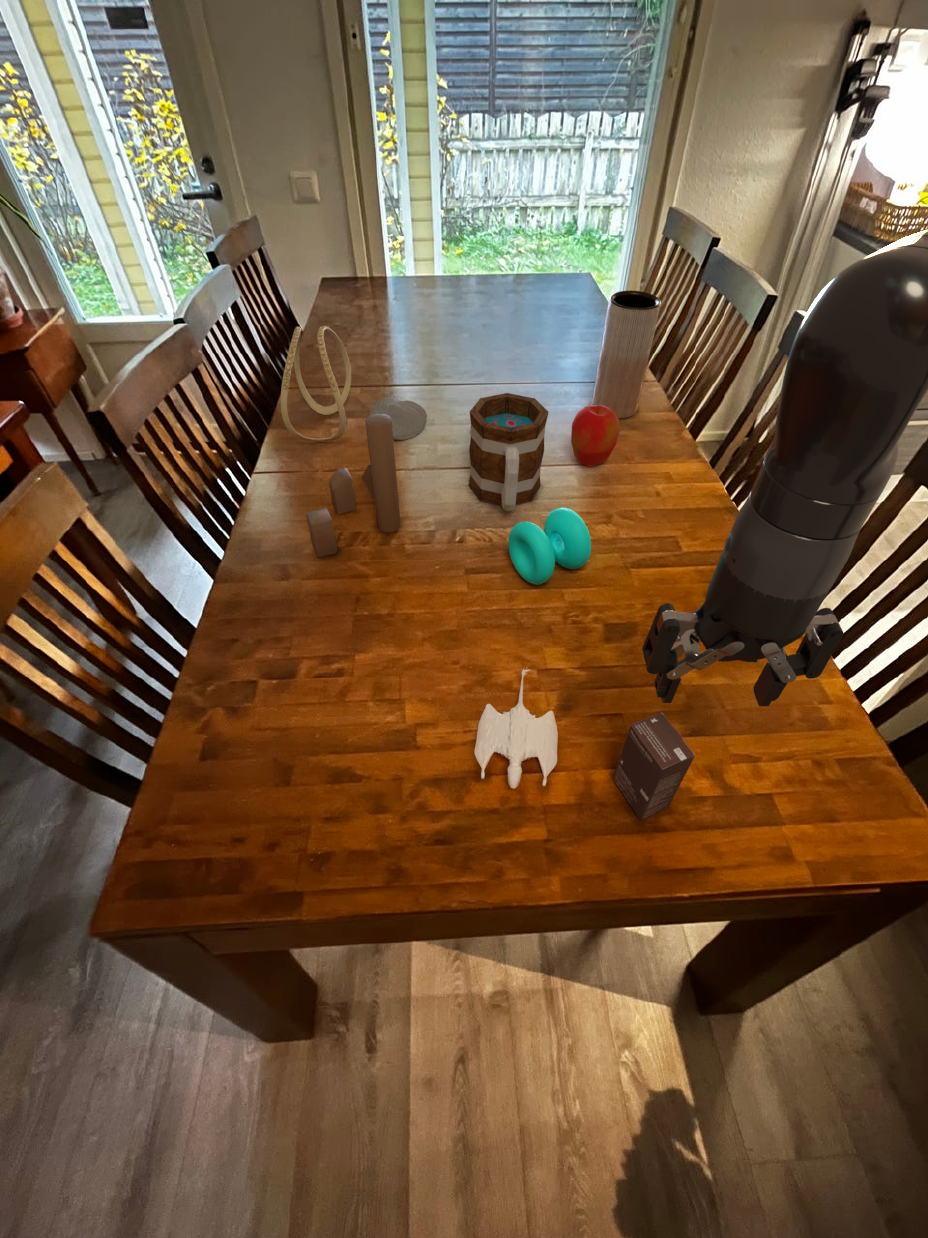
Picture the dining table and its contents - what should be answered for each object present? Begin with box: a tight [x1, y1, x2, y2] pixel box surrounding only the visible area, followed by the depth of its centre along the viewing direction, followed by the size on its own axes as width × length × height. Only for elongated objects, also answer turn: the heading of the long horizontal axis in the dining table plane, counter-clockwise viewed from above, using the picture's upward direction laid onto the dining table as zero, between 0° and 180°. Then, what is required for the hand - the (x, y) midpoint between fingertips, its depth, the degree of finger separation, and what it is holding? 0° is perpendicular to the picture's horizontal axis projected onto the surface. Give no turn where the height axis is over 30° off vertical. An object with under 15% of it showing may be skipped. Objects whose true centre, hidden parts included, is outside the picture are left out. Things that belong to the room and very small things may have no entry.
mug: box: [468, 392, 549, 512], centre depth 110 cm, size 20×14×15 cm
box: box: [612, 712, 696, 821], centre depth 69 cm, size 6×4×12 cm
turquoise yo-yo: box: [507, 507, 592, 585], centre depth 97 cm, size 10×10×10 cm
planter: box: [591, 290, 662, 419], centre depth 130 cm, size 10×10×23 cm
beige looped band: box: [280, 325, 352, 443], centre depth 125 cm, size 22×12×20 cm, turn 4°
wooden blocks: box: [305, 414, 401, 558], centre depth 104 cm, size 17×20×20 cm
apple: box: [570, 404, 621, 467], centre depth 119 cm, size 9×9×12 cm
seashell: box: [369, 396, 428, 441], centre depth 130 cm, size 12×6×10 cm
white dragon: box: [473, 665, 559, 789], centre depth 78 cm, size 18×10×4 cm, turn 172°
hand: (712, 697), depth 56 cm, fingers open, 8 cm apart
